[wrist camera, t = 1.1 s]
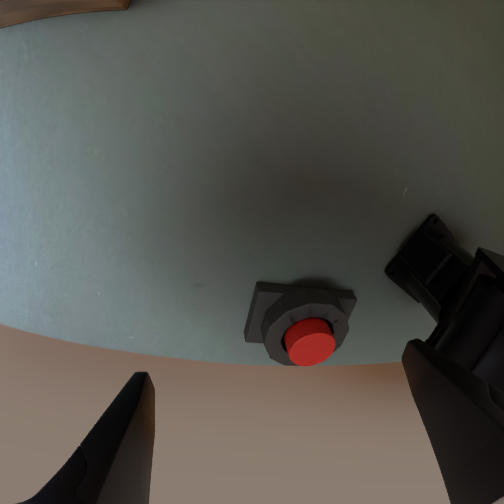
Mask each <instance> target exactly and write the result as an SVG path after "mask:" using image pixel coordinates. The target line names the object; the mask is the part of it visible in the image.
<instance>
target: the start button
mask: <svg viewBox="0 0 504 504" xmlns="http://www.w3.org/2000/svg"><path fill="white" fill-rule="evenodd" d="M284 340H285V344H286V347H287V351H288V354H289V358H290V360H291V361H292V362H293V363H295V364H297V365H300V366H311V365H315V364H318V363H320V362H322V361H324V360H325V359H327V358H328V357H329V356H330V355H331V354H332V353H333V351H334V349H335V339H334V337H333V335H332V333H331V331H330V328H329V326H328V324H327V323H326V322H325V321H324V320H322V319H320V318H317V317H308V318H305V319H303V320H300V321H297V322H295V323H293V324H292V325H291V326H290V327H289V328H288V329H287V331H286V333H285V337H284Z"/></svg>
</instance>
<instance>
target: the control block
mask: <svg viewBox="0 0 504 504" xmlns="http://www.w3.org/2000/svg"><path fill="white" fill-rule="evenodd" d="M356 302H357V298H356V297H355V295H354V293H353V292H352V291H343V290H332V289H320V288H309V287H299V286H288V285H278V284H268V283H259V282H257V283H256V287H255V291H254V295H253V299H252V303H251V307H250V311H249V315H248V319H247V322H246V326H245V330H244V336H245V342H253V343H264V346H265V348H266V350H267V352H268V354H269V357H270V358H271V359H273V360H275V361H277V362H279V363H281V364H283V365H287V366H300V365H297V364H295V363H293V362H292V361H291V360H290V358H289V354H288V351H287V347H286V344H285V340H284V337H285V333H286V331H287V329H288V328H289V327H290V326H291V325H292V324H293V323H295V322H297V321H300V320H303V319H305V318H308V317H317V318H320V319H322V320H324V321H325V322H326V323H327V324H328V326H329V328H330V331H331V333H332V335H333V337H334V339H335V349H334V351H335V350H337V349H338V348H339V347H340V346H341V345H342V343H343V341H344V339H345V337H346V335H347V333H348V330H349V327H348V319H349V317H350V315H351V312H352V310H353V308H354V306H355V304H356ZM334 351H333V352H334Z"/></svg>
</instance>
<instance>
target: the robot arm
mask: <svg viewBox="0 0 504 504" xmlns="http://www.w3.org/2000/svg"><path fill="white" fill-rule="evenodd" d="M433 220H434V221H433ZM475 254H476V256H475V258H474V257H473V256H472V255H471V254H470V253H468V252H467V251H466V250H465V249H463V248H462V247H461V246H460V245H459V244H458V242H457V241H456V240H455V238H454V237H453V235H452V234H451V233H450V231H449V230H448V229H447V227H446V226H445V224H444V223H443V222H442V220H441V219H440V218H439V217H438V216H437V215H436V214H431V215H430V216H429V217H428V219H427V220H426V221H425V222H424V224H423V225H422V226H421V227H420V229H419V230H418V231H417V232H416V233H415V235H414V236H413V237H412V238H411V240H410V241H409V242H408V243H407V244H406V246H405V247H404V248H403V249H402V250H401V251H400V253H399V254H398V255H397V256H396V257H395V258H394V259H393V261H392V262H391V263H390V264H389V265H388V266H387V268H386V269H385V274H386V275H387V276H388V277H389V278H390V279H391V280H392V281H393V282H395V283H396V284H397V285H398V286H399V287H401V288H402V289H403V290H404V291H405V292H406V293H408V294H409V295H410V296H411V297H412V298H413V299H415V300H416V301H417V302H418V303H421V304H422V305H423V306H424V308H425V309H426V310H427V311H428V312H429V314H430V315H431V316H432V317H433V319H434V320H435V321H436V322H437V326H436V327H435V329H434V331H433V332H432V334H431V335H430V337H429V338H428V339H427V340H426V341H425V342H423V341H422V340H420V339H414V340H410V341H408V343H407V345H406V347H405V350H404V352H403V355H402V363H403V366H404V370H405V373H406V376H407V379H408V383H409V386H410V389H411V392H412V396H413V398H414V401H415V403H416V406H417V408H418V411H419V413H420V416H421V418H422V421H423V423H424V426H425V428H426V431H427V434H428V436H429V439H430V442H431V445H432V447H433V450H434V453H435V456H436V459H437V461H438V464H439V467H440V470H441V473H442V476H443V480H444V483H445V486H446V489H447V493H448V496H449V499H450V503H451V504H504V256H503V255H500V254H497V253H494V252H492V251H489V250H486V249H484V248H481V247H478V249H477V251H476V253H475ZM391 270H392V271H391ZM390 271H391V272H390ZM154 437H155V389H154V386H153V383H152V381H151V378H150V376H149V374H148V373H147V372H135V373H134V374H133V376H132V377H131V378H130V379H129V381H128V382H127V383H126V385H125V386H124V387H123V389H122V390H121V391H120V393H119V394H118V395H117V396H116V398H115V399H114V400H113V402H112V403H111V405H110V406H109V407H108V408H107V409H106V411H105V412H104V413H103V415H102V416H101V417H100V419H99V420H98V421H97V423H96V424H95V425H94V427H93V428H92V429H91V431H90V432H89V433H88V435H87V436H86V437H85V439H84V440H83V441H82V443H81V444H80V445H81V446H79V447H78V448H77V449H76V451H75V452H74V453H73V454H72V456H71V457H70V458H69V459H68V461H67V462H66V463H65V464H64V465H63V467H62V468H61V469H60V470H59V471H58V472H57V473H56V474H55V475H54V476H53V477H52V478H51V480H50V481H49V482H48V483H47V484H46V485H45V486H44V487H43V488H42V489H41V490H40V491H39V492H38V493H37V494H36V495H34V496H33V497H32V498H30V499H28V500H26V501H24V502H21V503H17V504H149V493H150V479H151V468H152V457H153V446H154Z"/></svg>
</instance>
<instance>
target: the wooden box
mask: <svg viewBox="0 0 504 504" xmlns="http://www.w3.org/2000/svg"><path fill="white" fill-rule="evenodd" d="M129 1H130V0H0V28H3V27H7V26H11V25H15V24H19V23H23V22H28V21H32V20H37V19H43V18H48V17H54V16H60V15H68V14H76V13H85V12H96V11H112V10H127V7H128V4H129Z"/></svg>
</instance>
